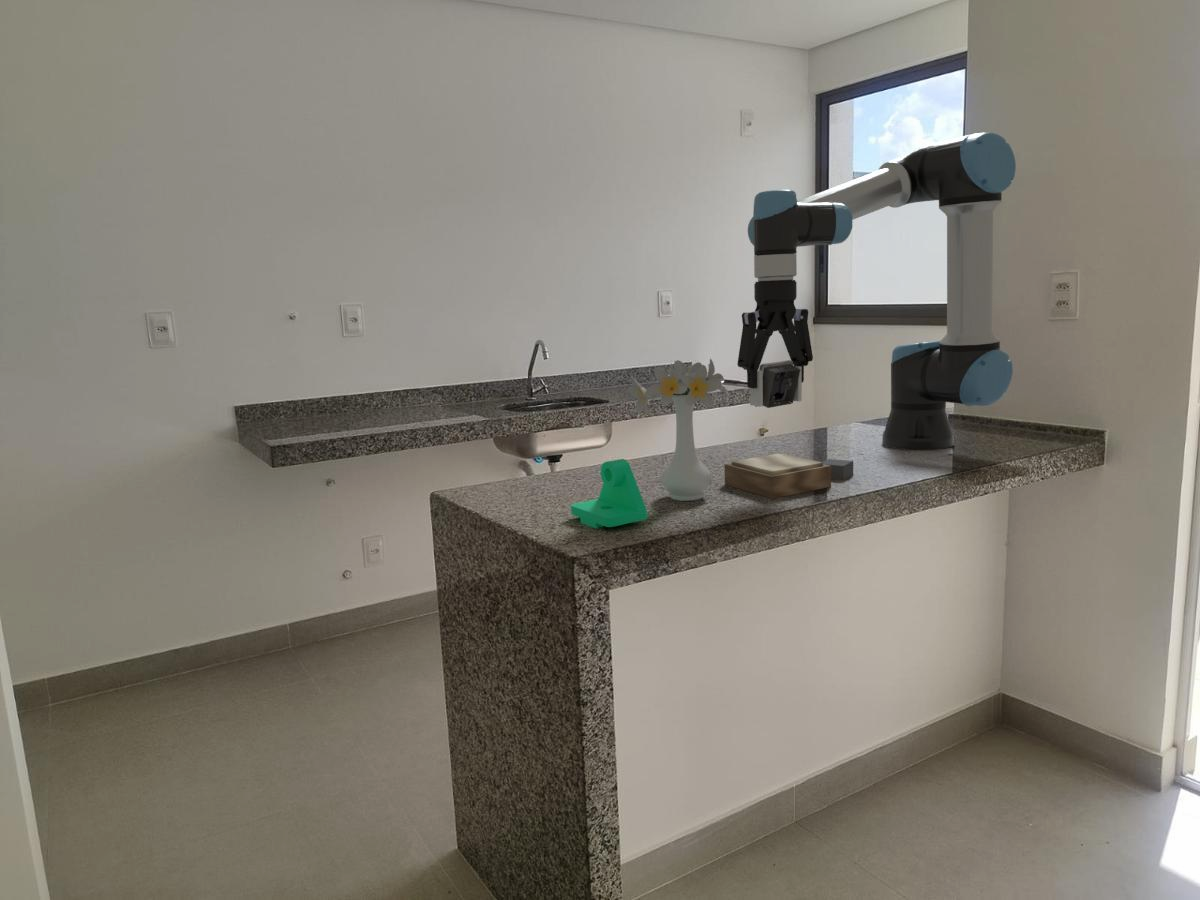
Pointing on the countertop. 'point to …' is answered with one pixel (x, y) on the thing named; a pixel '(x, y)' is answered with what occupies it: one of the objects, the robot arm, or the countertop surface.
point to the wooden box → (777, 475)
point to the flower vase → (683, 423)
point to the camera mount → (613, 499)
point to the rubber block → (840, 468)
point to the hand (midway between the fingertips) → (776, 403)
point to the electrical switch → (779, 383)
